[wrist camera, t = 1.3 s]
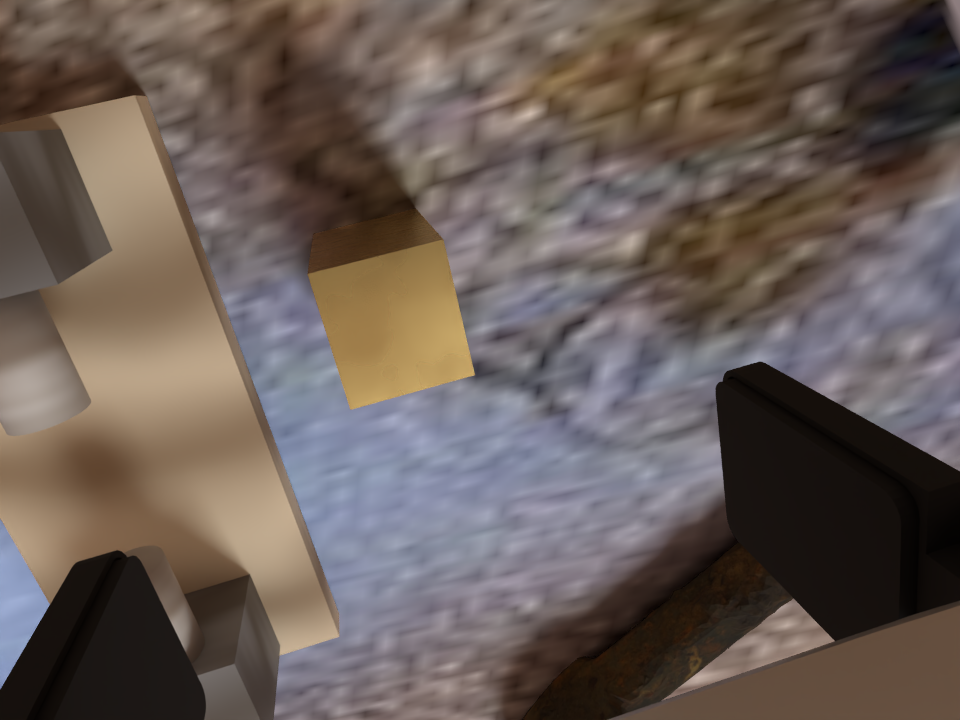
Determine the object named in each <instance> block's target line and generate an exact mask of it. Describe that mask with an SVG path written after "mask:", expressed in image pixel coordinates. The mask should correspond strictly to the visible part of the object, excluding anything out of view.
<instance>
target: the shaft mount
mask: <svg viewBox="0 0 960 720" xmlns="http://www.w3.org/2000/svg"><path fill="white" fill-rule="evenodd" d="M0 518H1V520H2V522H3V524H4V525H5V527H6V529H7V530H8V532H9V534H10V536H11V537H12V539H13V541H14V543H15V544H16V546H17V548H18V550H19V551H20V553H21V555H22V556H23V558H24V560H25V562H26V563H27V565H28V567H29V569H30V570H31V572H32V574H33V576H34V577H35V579H36V581H37V582H38V584H39V586H40V588H41V589H42V591H43V593H44V595H45V596H46V598H47V600H48V602H49V603H50V604H51V602H52V600H53V599H54V597H55V595H56V594H57V592H58V590H59V588H60V587H61V585H62V583H63V582H64V580H65V578H66V576H67V575H68V573H69V571H70V570H71V568H72V566H73V565H74V564H75V563H76V562H78V561H82V560H85V559H88V558H92V557H95V556H99V555H102V554H105V553H109V552H112V551H116V550H119V551H122V552H123V553H124V554H125V555H126V556H127V557H129V556H133V555H134V556H137V557H138V558H139V559H140V561H141V562H142V564H143V566H144V568H145V570H146V572H147V574H148V576H149V578H150V580H151V582H152V584H153V586H154V588H155V590H156V593H157V595H158V597H159V599H160V601H161V603H162V605H163V607H164V609H165V611H166V613H167V615H168V617H169V619H170V621H171V623H172V625H173V627H174V629H175V631H176V633H177V635H178V637H179V639H180V641H181V644H182V646H183V648H184V650H185V652H186V654H187V656H188V658H189V660H190V662H191V664H192V666H193V668H194V670H195V672H196V674H197V676H198V678H199V680H200V682H201V684H202V687H203V689H204V693H205V699H206V713H205V718H204V720H273V719H274V708H275V697H276V687H277V676H278V665H279V656H280V655H283V654H286V653H289V652H292V651H296V650H299V649H302V648H305V647H308V646H311V645H314V644H318V643H321V642H324V641H327V640H330V639H333V638H336V637H339V612H338V610H337V607H336V604H335V602H334V599H333V596H332V594H331V591H330V588H329V586H328V583H327V580H326V578H325V575H324V572H323V569H322V567H321V564H320V561H319V559H318V556H317V553H316V551H315V548H314V545H313V543H312V540H311V537H310V535H309V532H308V529H307V526H306V524H305V521H304V518H303V516H302V513H301V510H300V508H299V505H298V502H297V500H296V497H295V494H294V492H293V489H292V486H291V483H290V481H289V478H288V475H287V473H286V470H285V467H284V465H283V462H282V459H281V457H280V454H279V451H278V448H277V446H276V443H275V440H274V438H273V435H272V432H271V430H270V427H269V424H268V422H267V419H266V416H265V414H264V411H263V408H262V405H261V403H260V400H259V397H258V395H257V392H256V389H255V387H254V384H253V381H252V379H251V376H250V373H249V371H248V368H247V365H246V362H245V360H244V357H243V354H242V352H241V349H240V346H239V344H238V341H237V338H236V336H235V333H234V330H233V328H232V325H231V322H230V319H229V317H228V314H227V311H226V309H225V306H224V303H223V301H222V298H221V295H220V293H219V290H218V287H217V285H216V282H215V279H214V276H213V274H212V271H211V268H210V266H209V263H208V260H207V258H206V255H205V252H204V250H203V247H202V244H201V241H200V239H199V236H198V233H197V231H196V228H195V225H194V223H193V220H192V217H191V215H190V212H189V209H188V207H187V204H186V201H185V198H184V196H183V193H182V190H181V188H180V185H179V182H178V180H177V177H176V174H175V172H174V169H173V166H172V164H171V161H170V158H169V155H168V153H167V150H166V147H165V145H164V142H163V139H162V137H161V134H160V131H159V129H158V126H157V123H156V121H155V118H154V115H153V112H152V110H151V107H150V104H149V102H148V99H147V96H137V95H134V96H129V97H124V98H120V99H115V100H111V101H106V102H101V103H97V104H92V105H88V106H83V107H78V108H74V109H69V110H65V111H60V112H55V113H51V114H46V115H41V116H37V117H32V118H28V119H23V120H18V121H14V122H9V123H5V124H0Z"/></svg>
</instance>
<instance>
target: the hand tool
mask: <svg viewBox="0 0 960 720" xmlns="http://www.w3.org/2000/svg"><path fill="white" fill-rule="evenodd" d="M792 599H793V597H792V596H791V595H790V594H789V593H788V592H787V591H786V590H785V589H784V588H783V587H782V586H781V585H780V584H779V583H778V582H777V581H776V580H775V579H774V578H773V577H772V576H771V574H770V573H769V572H768V571H767V570H766V569H765V568H764V567H763V566H762V565H761V564H760V563H759V562H758V561H757V560H756V559H755V558H754V557H753V556H752V555H751V554H750V553H749V552H748V551H747V550H746V549H745V548H744V547H743V546H742V545H741V544H740V543H739V542H738V543H737V544H736V545H735V546H733V547H732V548H731V549H730V550H728V551H727V552H726V553H725V554H724V555H723V556H721V557H720V558H719V559H718V560H717V561H715V562H714V563H713V564H712V565H711V566H709V567H708V568H707V569H706V570H705V571H703V572H702V573H701V574H700V575H698V576H697V577H696V578H695V579H693V580H692V581H691V582H690V583H689V584H687V585H686V586H685V587H683V588H681V589H680V590H676V591H674V592H673V594H672V596H671V598H670V599H669V600H668V601H667V602H665V603H664V604H662V605H661V606H660V607H659V608H658V609H656V610H654V611H652V612H651V613H650V614H649V616H648V617H647V618H646V619H644V620H643V621H642V622H641V623H639V624H638V625H637V626H636V627H634V628H633V629H632V630H630V631H629V632H628V633H627V634H626V635H624V636H623V637H622V638H621V639H620V640H618V641H617V642H616V643H615V644H613V645H612V646H611V647H610V648H608V649H607V650H606V651H605V652H603V653H602V654H601V655H599V656H598V657H596V658H594V659H591V658H588V657H582V658H578V659H577V660H575V661H574V662H573V663H572V664H571V665H570V666H568V667H567V668H566V669H565V670H564V671H563V672H562V673H561V674H560V675H559V676H558V677H557V678H556V679H555V680H554V681H553V682H552V683H551V684H550V686H549V687H548V688H547V689H546V690H545V692H544V693H543V694H542V695H541V696H540V698H539V699H538V700H537V701H536V702H535V704H534V705H533V707H532V708H531V709H530V710H529V712H528V713H527V714H526V716H525V717H524V719H523V720H609V719H611V718H614V717H617V716H620V715H623V714H626V713H629V712H631V711H634V710H637V709H640V708H643V707H646V706H649V705H651V704H654V703H657V702H660V701H661V700H662V699H664V698H666V697H667V696H669V695H670V694H671V693H672V692H674V691H675V690H676V689H677V688H678V687H680V686H681V685H682V684H684V683H685V682H686V681H687V680H689V679H690V678H691V677H693V676H694V675H695V674H697V673H698V672H699V671H700V670H702V669H703V668H704V667H705V666H706V665H708V664H709V663H710V662H711V661H713V660H714V659H715V658H717V657H718V656H719V655H720V654H722V653H723V652H724V651H725V650H726V649H727V648H728V649H729V647H730V646H731V645H733V643H735V642H736V641H737V640H739V639H740V638H741V637H743V636H744V635H745V634H747V633H748V632H749V631H751V630H752V629H754V628H756V627H757V626H758V625H759V624H761V622H762V621H763V620H765V619H766V618H767V617H768V616H770V615H771V614H773V613H775V612H776V611H777V609H779V608H780V607H781V606H783V605H784V604H786V603H787V602H789V601H791V600H792Z"/></svg>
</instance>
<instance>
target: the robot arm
mask: <svg viewBox="0 0 960 720" xmlns="http://www.w3.org/2000/svg"><path fill="white" fill-rule="evenodd" d="M716 403H717V414H718V425H719V436H720V447H721V458H722V469H723V480H724V491H725V502H726V513H727V520H728V524H729V527H730V529H731V531H732V533H733V535H734V537H735V538H736V539H737V540H738V542H739V543H740V544H741V545H742V546H743V547H744V548H745V549H746V550H747V551H748V552H749V553H750V554H751V555H752V556H753V557H754V558H755V559H756V560H757V561H758V562H759V563H760V564H761V565H762V566H763V567H764V568H765V569H766V570H767V571H768V572H769V573H770V574H771V576H772V577H773V578H774V579H775V580H776V581H777V582H778V583H779V584H780V585H781V586H782V587H783V588H784V589H785V590H786V591H787V592H788V593H789V594H790V595H791V596H792V597H793V598H794V599H795V600H796V601H797V602H798V603H799V604H800V605H801V606H802V607H803V609H804V610H805V611H806V612H807V613H808V614H809V615H810V616H811V617H812V618H813V619H814V620H815V621H816V622H817V623H818V624H819V625H820V626H821V627H822V628H823V629H824V630H825V631H826V632H827V633H828V634H829V635H830V636H831V637H832V638H833V639H834V640H835V641H834V642H832V643H829V644H826V645H823V646H820V647H817V648H814V649H811V650H808V651H805V652H802V653H800V654H797V655H794V656H791V657H788V658H785V659H782V660H779V661H776V662H773V663H771V664H768V665H765V666H762V667H759V668H756V669H753V670H750V671H747V672H744V673H741V674H739V675H736V676H733V677H730V678H727V679H724V680H721V681H718V682H715V683H712V684H710V685H707V686H704V687H701V688H698V689H695V690H692V691H689V692H686V693H683V694H680V695H678V696H675V697H672V698H669V699H666V700H663V701H660V702H657V703H654V704H651V705H649V706H646V707H643V708H640V709H637V710H634V711H631V712H629V713H626V714H623V715H620V716H617V717H614V718H611V719H609V720H960V471H958V470H956V469H955V468H953V467H951V466H949V465H947V464H946V463H944V462H942V461H940V460H938V459H937V458H935V457H933V456H931V455H929V454H928V453H926V452H924V451H922V450H920V449H919V448H917V447H915V446H913V445H911V444H910V443H908V442H906V441H904V440H902V439H901V438H899V437H897V436H895V435H893V434H892V433H890V432H888V431H886V430H884V429H883V428H881V427H879V426H877V425H875V424H874V423H872V422H870V421H868V420H866V419H865V418H863V417H861V416H859V415H857V414H856V413H854V412H852V411H850V410H848V409H847V408H845V407H843V406H841V405H839V404H838V403H836V402H834V401H832V400H830V399H829V398H827V397H825V396H823V395H821V394H820V393H818V392H816V391H814V390H812V389H811V388H809V387H807V386H805V385H803V384H802V383H800V382H798V381H796V380H794V379H793V378H791V377H789V376H787V375H785V374H784V373H782V372H780V371H778V370H776V369H775V368H773V367H771V366H769V365H767V364H766V363H763V362H757V363H753V364H750V365H746V366H743V367H740V368H736V369H733V370H729V371H727V372H726V373H725V374H724V378H723V382H719V383H718V384H717V386H716ZM205 713H206V699H205V693H204V689H203V687H202V684H201V682H200V680H199V678H198V676H197V674H196V672H195V670H194V668H193V666H192V664H191V662H190V660H189V658H188V656H187V654H186V652H185V650H184V648H183V646H182V644H181V641H180V639H179V637H178V635H177V633H176V631H175V629H174V627H173V625H172V623H171V621H170V619H169V617H168V615H167V613H166V611H165V609H164V607H163V605H162V603H161V601H160V599H159V597H158V595H157V593H156V590H155V588H154V586H153V584H152V582H151V580H150V578H149V576H148V574H147V572H146V570H145V568H144V566H143V564H142V562H141V561H140V559H139V558H138V557H137V556H134V555H133V556H129V557H127V556H126V555H125V554H124V553H123V552H122V551H119V550H116V551H112V552H109V553H105V554H102V555H99V556H95V557H92V558H88V559H85V560H82V561H78V562H76V563H75V564H74V565H73V566H72V568H71V570H70V571H69V573H68V575H67V576H66V578H65V580H64V582H63V583H62V585H61V587H60V588H59V590H58V592H57V594H56V595H55V597H54V599H53V600H52V602H51V604H50V606H49V607H48V609H47V611H46V612H45V614H44V616H43V618H42V619H41V621H40V623H39V624H38V626H37V628H36V630H35V631H34V633H33V635H32V636H31V638H30V640H29V642H28V643H27V645H26V647H25V648H24V650H23V652H22V654H21V655H20V657H19V659H18V660H17V662H16V664H15V665H14V667H13V669H12V671H11V672H10V674H9V676H8V677H7V679H6V681H5V683H4V684H3V686H2V688H1V689H0V720H204V718H205Z"/></svg>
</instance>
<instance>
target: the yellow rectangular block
mask: <svg viewBox="0 0 960 720" xmlns="http://www.w3.org/2000/svg"><path fill="white" fill-rule="evenodd" d="M308 277H309V280H310V283H311V286H312V289H313V293H314V296H315V299H316V302H317V305H318V308H319V312H320V315H321V318H322V321H323V324H324V327H325V330H326V334H327V337H328V340H329V343H330V346H331V349H332V353H333V356H334V359H335V362H336V365H337V368H338V371H339V375H340V378H341V381H342V384H343V387H344V390H345V394H346V397H347V400H348V403H349V406H350V409H355V408H358V407H362V406H366V405H369V404H373V403H376V402H380V401H384V400H387V399H391V398H394V397H398V396H401V395H405V394H409V393H412V392H416V391H419V390H423V389H426V388H430V387H434V386H437V385H441V384H444V383H448V382H451V381H455V380H459V379H462V378H466V377H469V376H473V375H475V374H474V369H473V365H472V361H471V356H470V352H469V348H468V344H467V339H466V335H465V331H464V326H463V322H462V318H461V314H460V309H459V305H458V301H457V296H456V292H455V288H454V283H453V279H452V275H451V271H450V266H449V262H448V258H447V253H446V249H445V245H444V241H443V239H442V238H441V236H440V235H439V234H438V233H437V232H436V231H435V230H434V229H433V227H432V226H431V225H430V224H429V223H428V222H427V221H426V220H425V218H424V217H423V216H422V215H421V214H420V213H419V212H418V211H417V209H416V208H415V209H411V210H407V211H403V212H399V213H395V214H391V215H387V216H383V217H379V218H375V219H371V220H367V221H363V222H359V223H355V224H351V225H347V226H343V227H339V228H335V229H331V230H327V231H323V232H319V233H315V234H313V241H312V248H311V254H310V261H309V268H308Z"/></svg>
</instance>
